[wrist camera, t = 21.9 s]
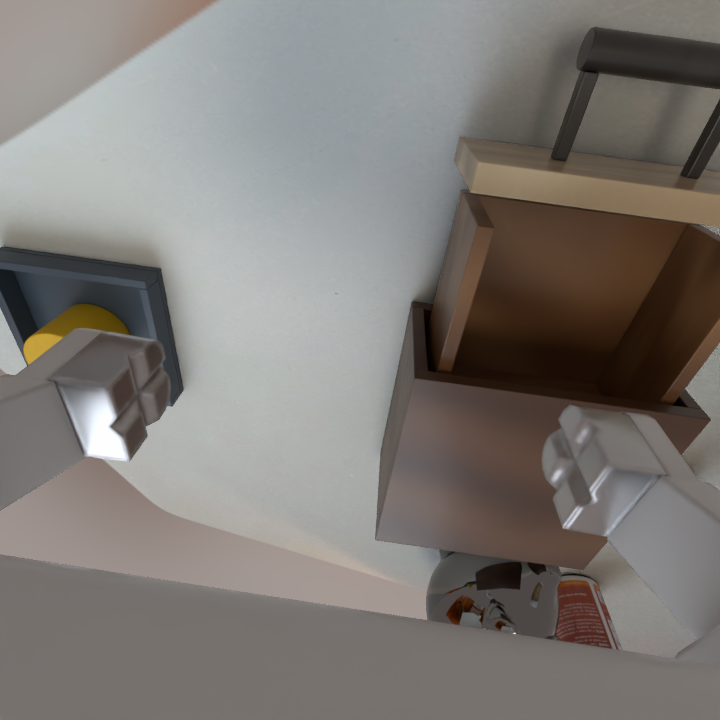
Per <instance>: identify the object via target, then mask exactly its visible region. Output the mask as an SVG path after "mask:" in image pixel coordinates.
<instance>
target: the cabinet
mask: <svg viewBox="0 0 720 720" xmlns="http://www.w3.org/2000/svg"><path fill="white" fill-rule="evenodd" d="M432 308H433V304H426V303H419V302H412V303H411V308H410V313H409V317H408V322H407V327H406V332H405V337H404V342H403V346H402V351H401V356H400V361H399V366H398V371H397V376H396V380H395V385H394V390H393V395H392V400H391V405H390V409H389V414H388V419H387V424H386V429H385V434H384V438H383V443H382V448H381V454H380V470H379V487H378V503H377V519H376V535H375V540H378V541H385V542H392V543H399V544H406V545H413V546H420V547H427V548H434V549H441V550H448V551H455V552H462V553H469V554H476V555H482V556H489V557H496V558H503V559H510V560H517V561H524V562H531V563H538V564H545V565H552V566H559V567H566V568H573V569H580V570H584V568H585V567H586V566H587V565H588V564H589V562H590V561H591V560H592V559H593V558H594V557H595V555H596V554H597V553H598V552H599V551H600V550H601V548H602V547H603V546H604V545H605V544H606V543H607V541H608V540H607V538H608V537H605V536H600V535H594V534H589V533H583V532H578V531H572V530H567V529H563V528H562V525H561V522H560V519H559V516H558V513H557V511H556V508H555V505H554V502H553V499H552V498H553V496H554V495H555V493H556V491H557V490H556V489H555V488H554V487H553V486H552V485H551V484H550V483H549V482H548V481H547V480H546V479H545V475H544V472H543V469H542V460H541V459H542V452H543V446H544V444H545V442H546V440H547V438H548V436H549V435H550V434H551V433H553V432H555V431H557V430H559V429H560V428H561V426H560V423H559V420H558V418H559V417H560V415H561V413H562V412H563V410H564V409H565V408H566V407H568V406H569V405H576V406H582V407H589V408H596V409H602V410H609V411H616V412H629V413H637V414H645V415H649V416H650V417H652V418H653V419H655V420H656V421H657V423H658V424H659V425H660V427H661V428H662V430H663V431H664V432H665V434H666V435H667V437H668V438H669V439H670V441H671V442H672V443H673V445H674V446H675V448H676V449H677V450H678V452H679V453H680V455H682V453H683V452H684V451H685V450H686V449H687V447H688V446H689V445H690V444H691V443H692V442H693V440H694V439H695V438H696V437H697V436H698V435H699V433H700V432H701V431H702V430H703V429H704V428H705V426H706V425H707V424H708V423H709V422H710V421H711V419H710V418H709V417H708V416H707V414H706V413H705V412H704V411H703V410H702V409H701V408H700V406H699V405H698V404H697V403H696V402H695V401H694V399H693V398H692V397H691V396H690V395H689V394H688V392H687V391H686V390H685V389H684V391H683V392H682V393H681V395H680V396H679V397H678V399H677V400H676V401H675V403H674V404H673V405H665V404H658V403H651V402H644V401H637V400H629V399H622V398H615V397H608V396H601V395H594V394H587V393H580V392H573V391H565V390H558V389H551V388H544V387H537V386H530V385H523V384H516V383H509V382H502V381H494V380H487V379H480V378H473V377H466V376H459V375H452V374H445V373H438V372H431V371H428V361H427V348H426V333H427V329H428V325H429V320H430V316H431V312H432Z"/></svg>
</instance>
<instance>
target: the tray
mask: <svg viewBox="0 0 720 720" xmlns="http://www.w3.org/2000/svg"><path fill="white" fill-rule="evenodd" d="M77 304H91V305H96V306H99V307H101V308H104V309H106V310H108V311H109V312H111V313H112V314H114V315H115V316H116V317H117V318H119V319H120V320H121V321H122V322H123V324H124V325H125V326H126V328H127V329H128V331H129V333H130V335H131V336H137V337H143V338H148V339H154V340H158V341H159V342H160V343H161V344H163V348H164V352H165V357H166V359H165V360H164V361H163V362H162V364H161V365H160V366H161V367H162V368H163V370H164V371H165V372H166V373H167V374H168V375H169V378H170V384H171V390H170V398H169V401H168V404H167V406H171V407H172V406H173V405H174V403H175V402H176V400H177V399H178V397H179V396H180V394H181V393H182V392H183V386H182V381H181V376H180V371H179V365H178V360H177V355H176V349H175V344H174V339H173V333H172V328H171V323H170V318H169V312H168V307H167V302H166V296H165V291H164V286H163V281H162V275H161V270H160V269H158V268H151V267H143V266H136V265H129V264H122V263H115V262H108V261H100V260H93V259H86V258H79V257H72V256H65V255H57V254H50V253H43V252H36V251H29V250H22V249H15V248H7V247H1V248H0V308H1V310H2V312H3V314H4V316H5V319H6V321H7V323H8V325H9V327H10V329H11V332H12V334H13V336H14V338H15V340H16V342H17V345H18V347H19V349H20V351H21V353H22V355H23V358H24V360H25V362H26V364H27V366H28V363H27V361H26V359H25V356H24V350H23V348H24V344H25V342H26V340H27V339H28V338H29V337H30V336H31V335H33V334H34V333H36V332H37V331H38V330H40V329H41V328H42V327H44V326H45V325H47V324H48V323H49V322H51V321H52V320H53V319H55V318H56V317H57V316H59V315H60V314H62V313H63V312H64V311H66V310H67V309H68V308H70V307H72V306H74V305H77Z"/></svg>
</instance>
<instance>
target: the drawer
mask: <svg viewBox="0 0 720 720" xmlns="http://www.w3.org/2000/svg"><path fill="white" fill-rule="evenodd" d="M577 69H578V70H580V71H581V72H580V74H579V77H578V80H577V83H576V85H575V88H574V91H573V94H572V97H571V100H570V103H569V105H568V108H567V111H566V114H565V117H564V120H563V123H562V126H561V128H560V131H559V134H558V137H557V140H556V143H555V146H554V148H553V149H548V148H540V147H533V146H526V145H518V144H511V143H504V142H496V141H489V140H482V139H475V138H467V137H459V141H458V145H457V150H456V154H455V159H454V161H455V163H456V165H457V167H458V169H459V171H460V173H461V175H462V177H463V179H464V181H465V183H466V185H467V187H468V189H469V191H468V190H461V193H460V197H459V201H458V205H457V209H456V213H455V217H454V222H453V226H452V230H451V234H450V238H449V242H448V246H447V250H446V255H445V259H444V263H443V267H442V271H441V275H440V279H439V283H438V288H437V292H436V296H435V300H434V304H433V308H432V312H431V316H430V320H429V325H428V329H427V333H426V348H427V361H428V371H431V372H438V373H445V374H452V375H459V376H466V377H473V378H480V379H487V380H494V381H502V382H509V383H516V384H523V385H530V386H537V387H544V388H551V389H558V390H565V391H573V392H580V393H587V394H594V395H601V396H608V397H615V398H622V399H629V400H637V401H644V402H651V403H658V404H665V405H673V404H674V403H675V401H676V400H677V399H678V397H679V396H680V395H681V393H682V392H683V391H684V389H685V388H686V387H687V385H688V384H689V383H690V381H691V380H692V379H693V377H694V376H695V375H696V373H697V372H698V371H699V369H700V368H701V367H702V365H703V364H704V363H705V361H706V360H707V359H708V357H709V356H710V355H711V353H712V352H713V351H714V349H715V348H716V347H717V345H718V344H719V343H720V236H719V235H717V234H715V233H714V232H712V231H710V230H708V229H706V228H704V227H703V226H701V225H699V224H702V225H709V226H716V227H720V172H715V171H708V170H704V169H705V167H706V165H707V163H708V161H709V160H710V158H711V156H712V154H713V152H714V151H715V149H716V147H717V145H718V143H719V142H720V100H719V101H718V103H717V105H716V107H715V109H714V111H713V113H712V115H711V117H710V118H709V120H708V122H707V124H706V126H705V128H704V130H703V132H702V134H701V135H700V137H699V139H698V141H697V143H696V145H695V147H694V149H693V150H692V152H691V154H690V156H689V158H688V160H687V162H686V164H685V166H684V167H679V166H672V165H664V164H657V163H650V162H642V161H635V160H628V159H621V158H613V157H606V156H599V155H591V154H584V153H577V152H570V150H571V148H572V145H573V142H574V140H575V137H576V134H577V132H578V129H579V126H580V124H581V121H582V118H583V116H584V113H585V110H586V107H587V105H588V102H589V99H590V97H591V94H592V91H593V89H594V86H595V83H596V81H597V78H598V75H599V73H602V74H609V75H616V76H624V77H631V78H638V79H646V80H653V81H660V82H668V83H675V84H683V85H690V86H697V87H705V88H712V89H719V90H720V44H717V43H710V42H703V41H695V40H688V39H680V38H673V37H666V36H658V35H651V34H643V33H636V32H629V31H621V30H614V29H606V28H599V27H593V28H591V29H590V30H589V32H588V33H587V35H586V37H585V38H584V40H583V42H582V45H581V47H580V50H579V54H578V58H577Z"/></svg>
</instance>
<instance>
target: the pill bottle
mask: <svg viewBox="0 0 720 720" xmlns="http://www.w3.org/2000/svg"><path fill="white" fill-rule="evenodd" d="M558 593H559V602H560V617H559V624H558V628H557V632H556V633H557V636H558V637H559V638H560V639H561V640H562V641H564V642H571V643H577V644H584V645H590V646H597V647H603V648H610V649H616V650H622V647H621V645H620V642H619V639H618V636H617V634H616V631H615V629H614V626H613V623H612V620H611V618H610V615H609V613H608V610H607V607H606V605H605V602H604V600H603V597H602V594H601V592H600V589H599V587H598V585H597V584H596V582H594V581H593V580H592V579H590V578H587V577H583V576H575V575H569V576H562V579H561V582H560V584H559V587H558Z"/></svg>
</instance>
